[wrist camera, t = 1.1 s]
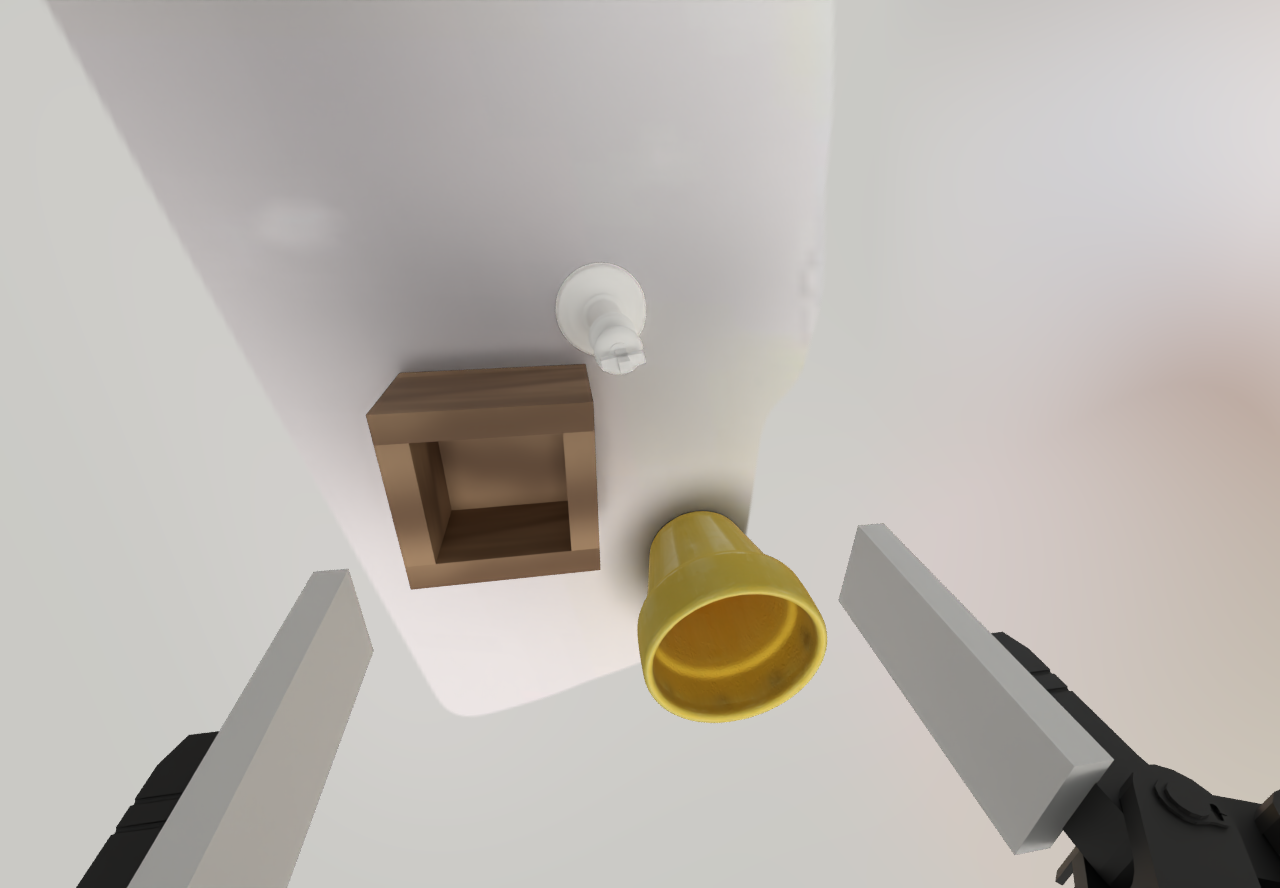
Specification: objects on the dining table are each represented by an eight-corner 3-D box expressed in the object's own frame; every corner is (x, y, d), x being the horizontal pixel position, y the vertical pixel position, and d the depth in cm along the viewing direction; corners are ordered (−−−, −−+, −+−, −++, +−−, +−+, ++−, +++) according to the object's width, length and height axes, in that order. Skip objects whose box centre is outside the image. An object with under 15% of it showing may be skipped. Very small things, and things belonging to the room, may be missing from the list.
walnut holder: (400, 371, 28) (365, 415, 23) (585, 363, 29) (593, 402, 24) (433, 523, 32) (411, 589, 27) (592, 509, 34) (600, 569, 29)
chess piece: (546, 271, 27) (545, 313, 18) (639, 254, 27) (683, 288, 18) (565, 361, 29) (573, 438, 20) (651, 345, 29) (695, 414, 20)
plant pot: (620, 611, 38) (641, 737, 29) (622, 491, 33) (647, 598, 25) (754, 599, 40) (811, 714, 31) (773, 482, 35) (847, 580, 26)
